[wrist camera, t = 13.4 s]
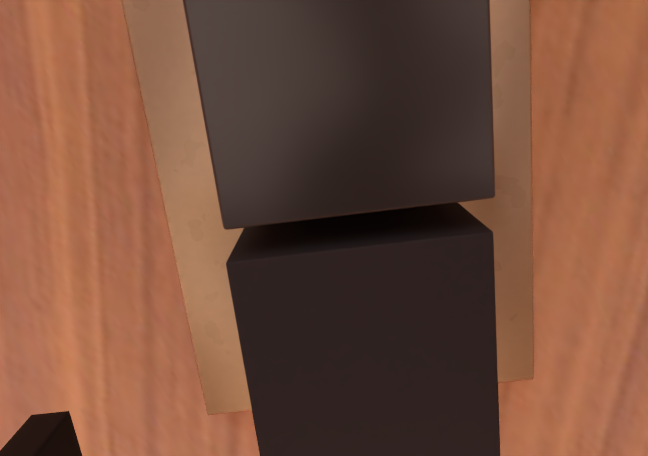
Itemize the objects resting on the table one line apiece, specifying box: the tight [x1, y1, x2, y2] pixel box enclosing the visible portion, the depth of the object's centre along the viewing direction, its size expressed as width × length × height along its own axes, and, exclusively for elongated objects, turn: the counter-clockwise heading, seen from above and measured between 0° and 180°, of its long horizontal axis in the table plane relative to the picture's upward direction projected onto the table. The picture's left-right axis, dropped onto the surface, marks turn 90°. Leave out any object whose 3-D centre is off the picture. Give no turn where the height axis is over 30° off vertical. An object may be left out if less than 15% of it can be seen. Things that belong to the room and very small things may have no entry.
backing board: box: [121, 0, 534, 415], centre depth 14 cm, size 12×16×7 cm
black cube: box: [226, 203, 500, 456], centre depth 15 cm, size 6×7×6 cm
